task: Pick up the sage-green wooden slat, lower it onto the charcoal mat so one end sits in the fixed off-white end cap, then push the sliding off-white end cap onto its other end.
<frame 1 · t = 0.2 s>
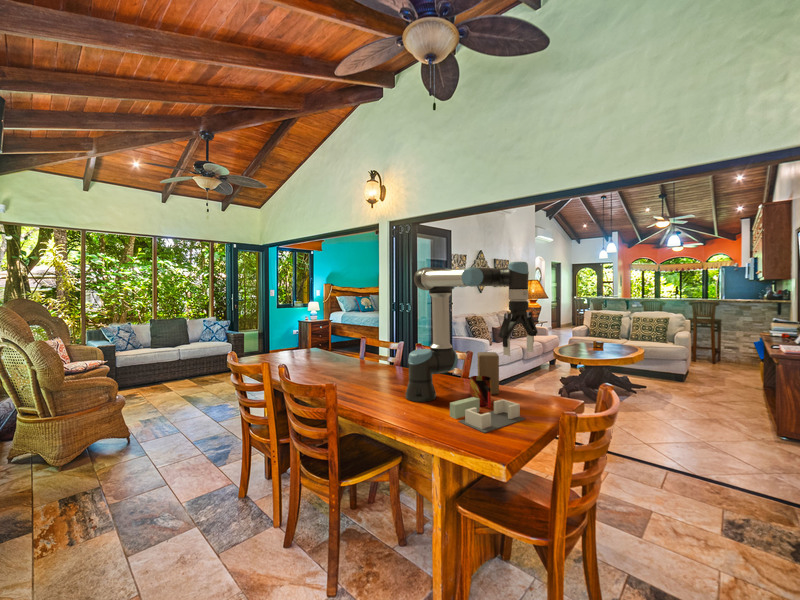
hand: (518, 353, 143), 27 cm above the table, fingers open, 13 cm apart
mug: (484, 405, 165), on the table
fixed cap: (475, 425, 140), resting on mat
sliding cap: (507, 408, 150), point 3 cm above the table, slide at 0.0 cm
slat: (464, 414, 153), on the table
wooden block: (488, 392, 185), on the table
mat: (492, 420, 145), on the table
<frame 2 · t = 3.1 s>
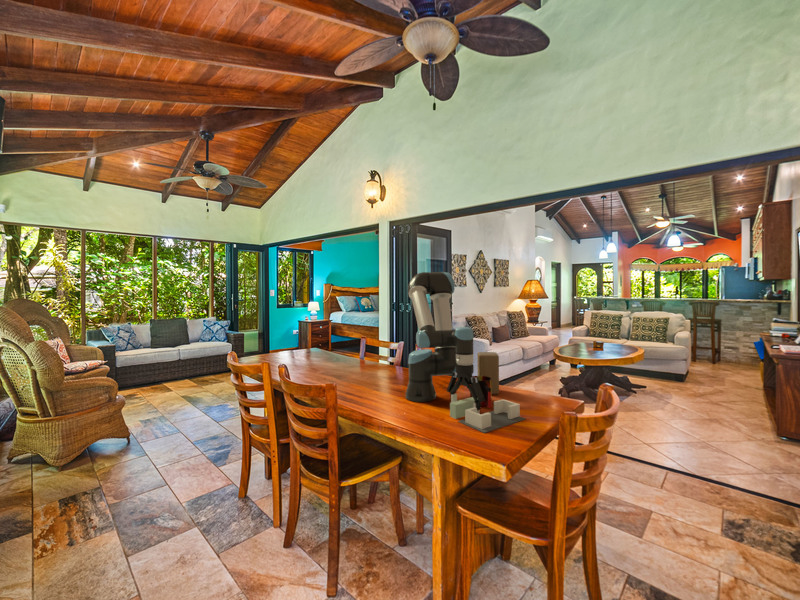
hand: (465, 413, 153), 1 cm above the table, fingers open, 13 cm apart
nothing on the table moved.
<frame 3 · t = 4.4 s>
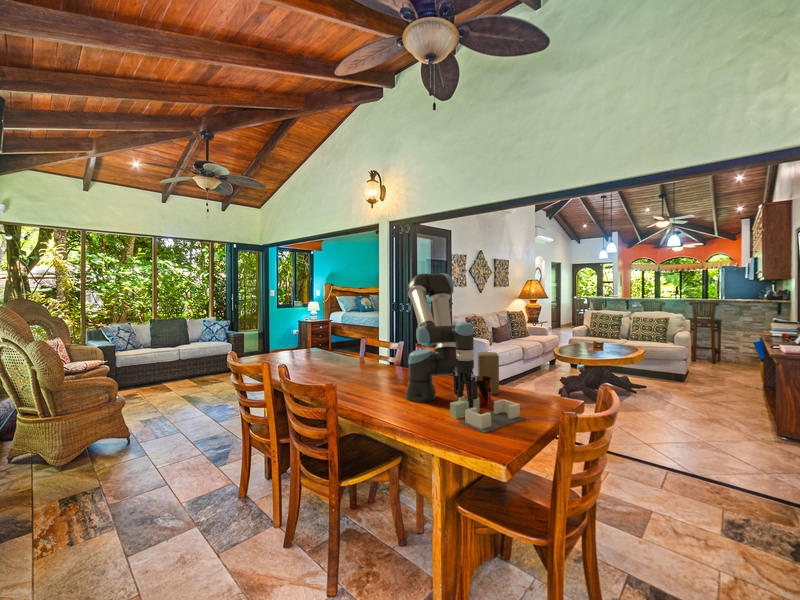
hand: (465, 413, 153), 0 cm above the table, fingers open, 4 cm apart
slat: (465, 414, 153), on the table, touching gripper
everything else where it was.
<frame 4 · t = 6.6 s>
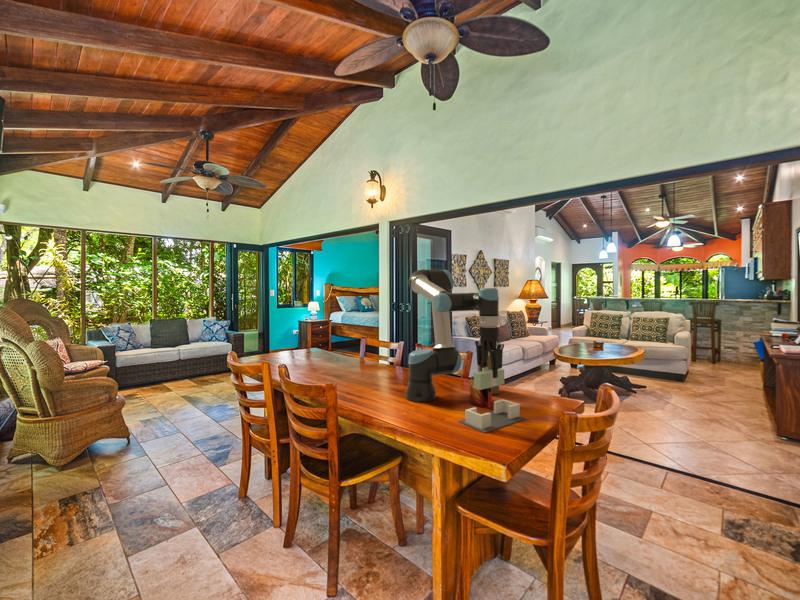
hand: (489, 384, 144), 15 cm above the table, fingers closed on slat, 3 cm apart
slat: (489, 385, 143), point 14 cm above the table, touching gripper
everything else where it was.
when the fingers open (1 cm above the table, at t = 9.0 s): slat stays where it is, resting on mat.
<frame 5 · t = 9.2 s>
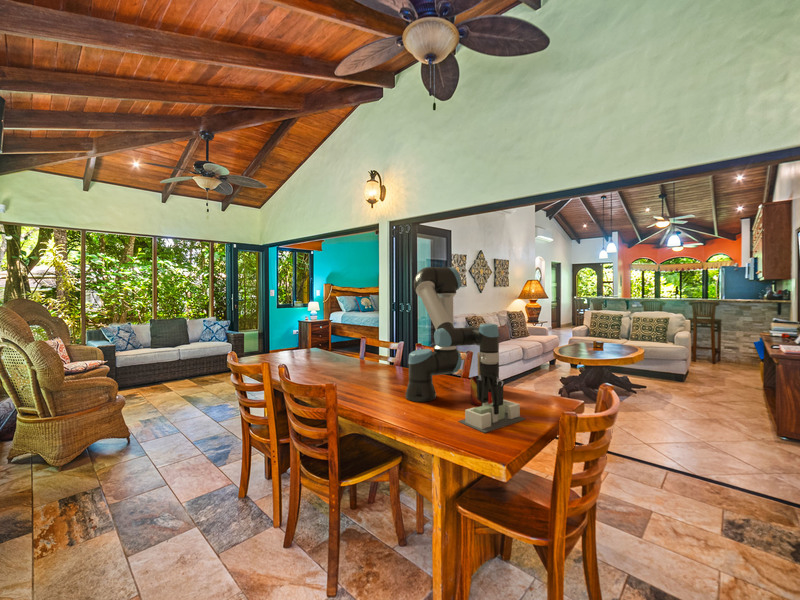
hand: (490, 420, 144), 1 cm above the table, fingers open, 4 cm apart
slat: (489, 420, 144), resting on mat, touching gripper
everything else where it was.
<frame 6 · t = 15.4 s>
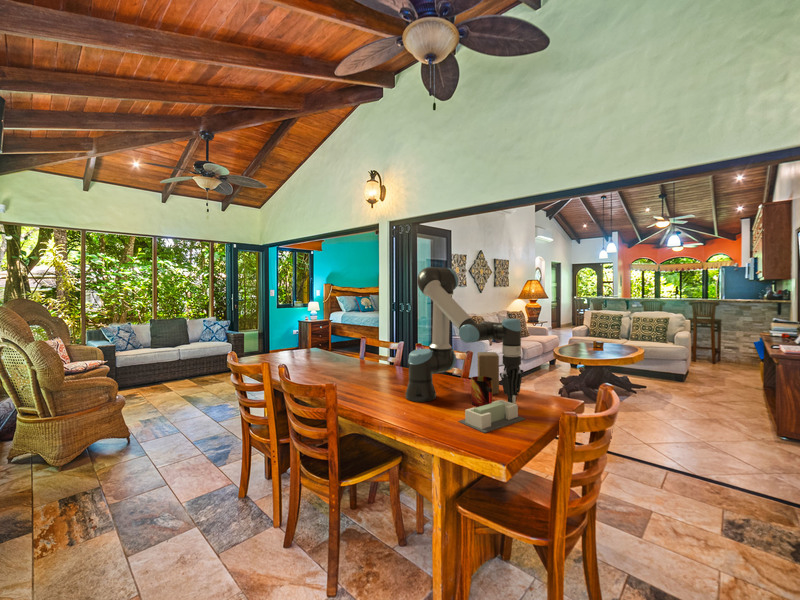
hand: (511, 410, 152), 2 cm above the table, fingers closed
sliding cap: (505, 409, 149), point 3 cm above the table, slide at 1.2 cm, touching gripper
slat: (489, 420, 144), resting on mat
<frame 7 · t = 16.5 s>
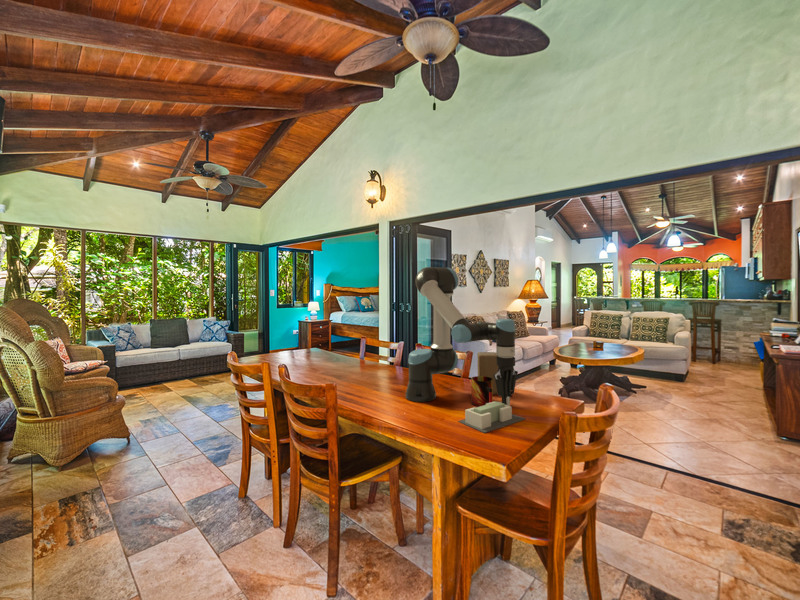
hand: (506, 412, 150), 2 cm above the table, fingers closed
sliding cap: (498, 411, 147), point 3 cm above the table, slide at 5.0 cm, touching gripper
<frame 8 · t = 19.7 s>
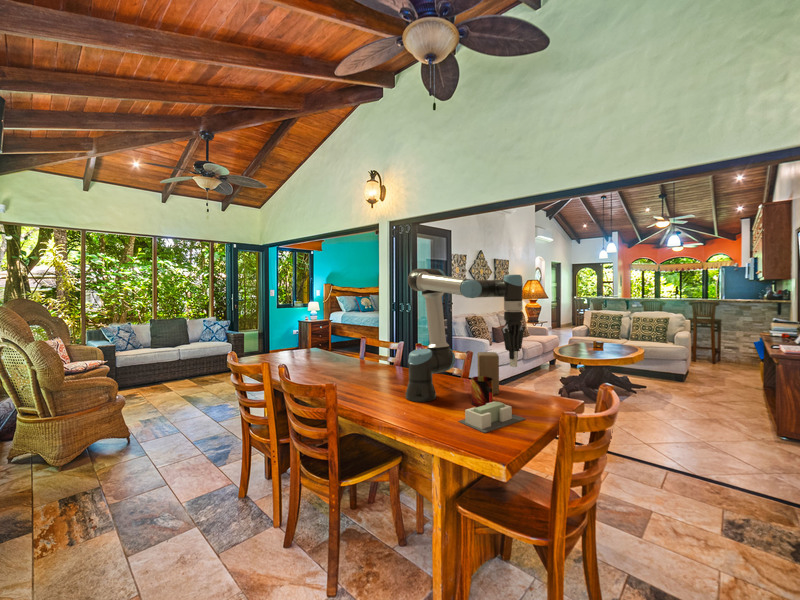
hand: (513, 366, 152), 20 cm above the table, fingers closed
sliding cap: (498, 411, 147), point 3 cm above the table, slide at 5.0 cm
at the end: slat inside the target area (0.9 cm from its centre), resting on mat; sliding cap slide at 5.0 cm; slat tilted 0° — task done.
